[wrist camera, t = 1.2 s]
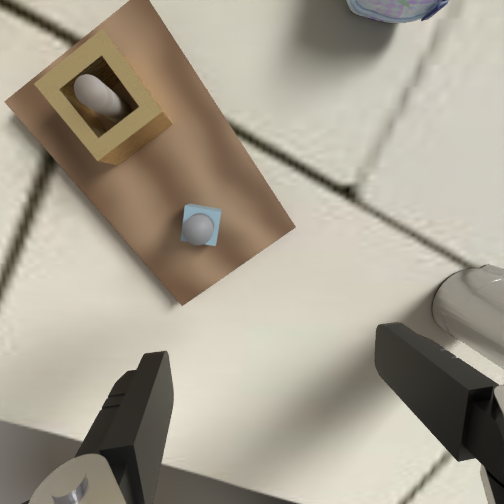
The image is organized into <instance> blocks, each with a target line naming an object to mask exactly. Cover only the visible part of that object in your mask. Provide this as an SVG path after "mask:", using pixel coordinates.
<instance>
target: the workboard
mask: <svg viewBox="0 0 504 504" xmlns="http://www.w3.org/2000/svg"><path fill="white" fill-rule="evenodd" d="M102 28H103V29H104V30H105V31H106V33H107V34H108V35H109V37H110V38H111V39H112V40H113V42H114V43H115V44H116V46H117V47H118V48H119V49H120V51H121V52H122V53H123V54H124V56H125V57H126V58H127V60H128V61H129V63H130V64H131V66H132V67H133V68H134V70H135V71H136V73H137V74H138V75H139V77H140V78H141V80H142V81H143V83H144V84H145V85H146V87H147V88H148V90H149V91H150V92H151V94H152V95H153V97H154V98H155V99H156V101H157V102H158V104H159V105H160V107H161V108H162V109H163V111H164V112H165V114H166V115H167V116H168V118H169V119H170V121H171V122H172V123H173V125H171V126H170V127H169V128H167V129H166V130H165V131H163V132H162V133H161V134H159V135H158V136H157V137H155V138H154V139H153V140H151V141H150V142H149V143H147V144H146V145H145V146H144V147H142V148H141V149H140V150H138V151H137V152H136V153H134V154H133V155H132V156H130V157H129V158H128V159H126V160H125V161H124V162H122V163H121V164H120V165H114V164H109V163H104V162H99V161H97V160H96V159H95V157H94V156H93V155H92V154H91V153H90V151H89V150H88V149H87V148H86V147H85V145H84V144H83V143H82V142H81V140H80V139H79V138H78V137H77V136H76V134H75V133H74V132H73V131H72V130H71V128H70V127H69V126H68V125H67V123H66V122H65V121H64V120H63V119H62V117H61V116H60V115H59V114H58V113H57V111H56V110H55V109H54V108H53V106H52V105H51V104H50V103H49V102H48V100H47V99H46V98H45V97H44V96H43V94H42V93H41V92H40V91H39V89H38V88H37V87H36V86H35V85H34V83H35V82H37V81H38V80H39V79H40V78H42V77H43V76H44V75H45V74H46V73H48V72H49V71H50V70H51V69H53V68H54V67H55V66H56V65H58V64H59V63H60V62H61V61H63V60H64V59H65V58H66V57H68V56H69V55H70V54H71V53H73V52H74V51H75V50H76V49H78V48H79V47H80V46H81V45H82V44H84V43H85V42H86V41H87V40H89V39H90V38H91V37H92V36H94V35H95V34H96V33H97V32H99V31H100V30H101V29H102ZM74 92H75V95H76V97H77V99H78V100H79V101H80V102H81V103H82V104H84V105H86V106H87V107H89V108H90V109H91V110H92V112H93V113H94V114H95V116H96V117H97V118H98V119H99V121H100V122H101V123H102V124H103V126H104V127H105V128H106V130H107V131H109V130H110V129H111V128H112V127H114V126H115V125H116V124H118V123H119V122H120V121H122V120H123V119H124V118H125V117H127V116H128V115H129V114H131V113H132V112H133V111H135V110H136V109H137V108H138V107H139V106H138V104H137V103H136V101H135V100H134V99H133V97H132V96H131V95H130V93H129V92H128V91H127V89H126V88H125V86H124V85H123V84H122V82H121V81H119V82H118V83H117V84H116V85H114V86H113V87H112V88H111V89H110V88H108V87H107V86H106V85H105V84H104V83H102V82H101V81H100V80H99V79H98V78H96V77H95V76H93V75H89V74H84V75H81V76H79V77H78V78H77V79H76V81H75V84H74ZM5 103H6V104H7V105H8V107H9V108H10V109H11V110H12V111H13V112H14V113H15V115H16V116H17V117H18V118H19V119H20V120H21V122H22V123H23V124H24V125H25V126H26V127H27V128H28V130H29V131H30V132H31V133H32V134H33V135H34V136H35V138H36V139H37V140H38V141H39V142H40V143H41V144H42V146H43V147H44V148H45V149H46V150H47V151H48V153H49V154H50V155H51V156H52V157H53V158H54V159H55V161H56V162H57V163H58V164H59V165H60V166H61V167H62V169H63V170H64V171H65V172H66V173H67V174H68V176H69V177H70V178H71V179H72V180H73V181H74V182H75V184H76V185H77V186H78V187H79V188H80V189H81V190H82V192H83V193H84V194H85V195H86V196H87V197H88V198H89V200H90V201H91V202H92V203H93V204H94V205H95V207H96V208H97V209H98V210H99V211H100V212H101V213H102V215H103V216H104V217H105V218H106V219H107V220H108V221H109V223H110V224H111V225H112V226H113V227H114V228H115V230H116V231H117V232H118V233H119V234H120V235H121V236H122V238H123V239H124V240H125V241H126V242H127V243H128V244H129V246H130V247H131V248H132V249H133V250H134V251H135V252H136V254H137V255H138V256H139V257H140V258H141V259H142V261H143V262H144V263H145V264H146V265H147V266H148V267H149V269H150V270H151V271H152V272H153V273H154V274H155V275H156V277H157V278H158V279H159V280H160V281H161V282H162V283H163V285H164V286H165V287H166V288H167V289H168V290H169V292H170V293H171V294H172V295H173V296H174V297H175V298H176V300H177V301H178V302H179V303H180V304H181V305H182V306H183V305H184V304H186V303H187V302H189V301H190V300H192V299H193V298H195V297H196V296H197V295H199V294H200V293H202V292H203V291H205V290H206V289H208V288H209V287H210V286H212V285H213V284H215V283H216V282H218V281H219V280H220V279H222V278H223V277H225V276H226V275H228V274H229V273H231V272H232V271H233V270H235V269H236V268H238V267H239V266H241V265H242V264H244V263H245V262H246V261H248V260H249V259H251V258H252V257H254V256H255V255H256V254H258V253H259V252H261V251H262V250H264V249H265V248H267V247H268V246H269V245H271V244H272V243H274V242H275V241H277V240H278V239H280V238H281V237H282V236H284V235H285V234H287V233H288V232H290V231H291V230H292V229H294V228H295V225H294V224H293V222H292V221H291V219H290V218H289V216H288V214H287V213H286V211H285V210H284V208H283V207H282V205H281V204H280V202H279V201H278V199H277V197H276V196H275V194H274V193H273V191H272V190H271V188H270V187H269V185H268V184H267V182H266V180H265V179H264V177H263V176H262V174H261V173H260V171H259V170H258V168H257V166H256V165H255V163H254V162H253V160H252V159H251V157H250V156H249V154H248V153H247V151H246V149H245V148H244V146H243V145H242V143H241V142H240V140H239V139H238V137H237V136H236V134H235V132H234V131H233V129H232V128H231V126H230V125H229V123H228V122H227V120H226V119H225V117H224V115H223V114H222V112H221V111H220V109H219V108H218V106H217V105H216V103H215V102H214V100H213V98H212V97H211V95H210V94H209V92H208V91H207V89H206V88H205V86H204V85H203V83H202V81H201V80H200V78H199V77H198V75H197V74H196V72H195V71H194V69H193V68H192V66H191V64H190V63H189V61H188V60H187V58H186V57H185V55H184V54H183V52H182V50H181V49H180V47H179V46H178V44H177V43H176V41H175V40H174V38H173V37H172V35H171V33H170V32H169V30H168V29H167V27H166V26H165V24H164V23H163V21H162V20H161V18H160V16H159V15H158V13H157V12H156V10H155V9H154V7H153V6H152V4H151V3H150V1H149V0H130V1H128V2H127V3H126V4H125V5H123V6H122V7H121V8H120V9H118V10H117V11H116V12H115V13H114V14H112V15H111V16H110V17H109V18H107V19H106V20H105V21H104V22H102V23H101V24H100V25H99V26H97V27H96V28H95V29H94V30H92V31H91V32H90V33H89V34H88V35H86V36H85V37H84V38H83V39H81V40H80V41H79V42H78V43H76V44H75V45H74V46H73V47H71V48H70V49H69V50H68V51H66V52H65V53H64V54H63V55H62V56H60V57H59V58H58V59H57V60H55V61H54V62H53V63H52V64H50V65H49V66H48V67H47V68H45V69H44V70H43V71H42V72H40V73H39V74H38V75H37V76H36V77H34V78H33V79H32V80H31V81H29V82H28V83H27V84H26V85H24V86H23V87H22V88H21V89H19V90H18V91H17V92H16V93H15V94H13V95H12V96H11V97H10V98H8V99H7V100H6V101H5ZM187 204H195V205H201V206H207V207H213V208H218V209H222V211H221V217H220V224H219V230H218V237H217V243H216V246H211V245H205V244H203V245H193V244H190V243H189V242H186V241H181V234H182V225H183V217H184V208H185V205H187Z"/></svg>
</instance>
